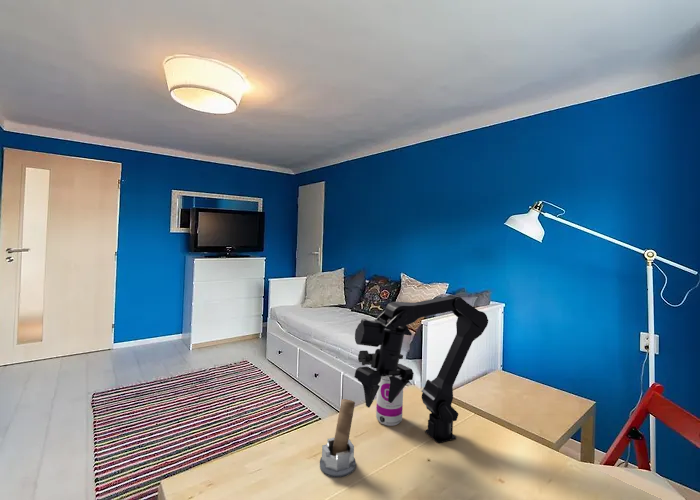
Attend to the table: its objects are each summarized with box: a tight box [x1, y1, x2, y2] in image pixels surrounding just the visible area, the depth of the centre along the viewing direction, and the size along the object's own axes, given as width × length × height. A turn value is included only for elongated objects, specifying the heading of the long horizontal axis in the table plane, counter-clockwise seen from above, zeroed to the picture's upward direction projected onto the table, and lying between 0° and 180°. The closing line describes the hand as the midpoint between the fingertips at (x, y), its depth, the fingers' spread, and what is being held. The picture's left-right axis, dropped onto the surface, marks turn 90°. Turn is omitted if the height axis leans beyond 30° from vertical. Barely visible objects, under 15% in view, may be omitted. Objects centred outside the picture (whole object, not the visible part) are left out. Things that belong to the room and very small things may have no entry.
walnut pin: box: [331, 398, 356, 456], centre depth 88 cm, size 4×4×14 cm
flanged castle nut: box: [319, 437, 356, 479], centre depth 87 cm, size 9×9×5 cm
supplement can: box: [375, 377, 404, 427], centre depth 110 cm, size 8×8×15 cm
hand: (379, 404), depth 95 cm, fingers open, 9 cm apart
